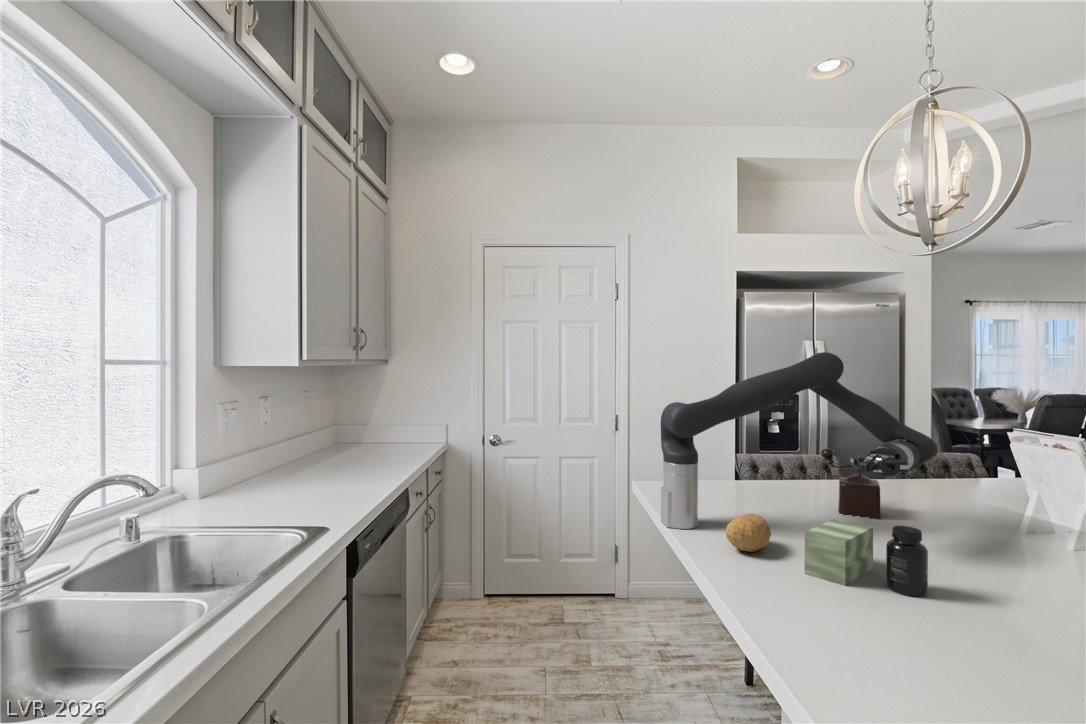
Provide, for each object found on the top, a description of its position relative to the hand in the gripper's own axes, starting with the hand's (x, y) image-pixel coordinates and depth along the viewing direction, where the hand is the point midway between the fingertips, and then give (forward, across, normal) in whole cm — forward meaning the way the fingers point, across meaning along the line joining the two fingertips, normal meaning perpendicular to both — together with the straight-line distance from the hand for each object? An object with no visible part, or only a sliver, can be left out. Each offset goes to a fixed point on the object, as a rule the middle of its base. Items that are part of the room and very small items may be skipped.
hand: (863, 467), depth 123 cm
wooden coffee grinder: (-38, -18, +21) cm, 47 cm away
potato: (+16, -19, +20) cm, 32 cm away
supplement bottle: (+13, +12, +21) cm, 27 cm away
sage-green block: (+13, 0, +21) cm, 24 cm away
